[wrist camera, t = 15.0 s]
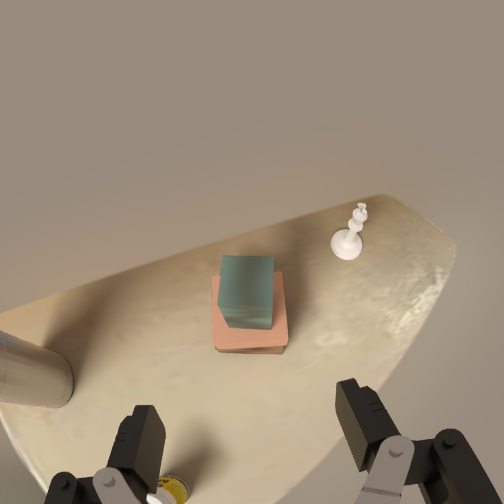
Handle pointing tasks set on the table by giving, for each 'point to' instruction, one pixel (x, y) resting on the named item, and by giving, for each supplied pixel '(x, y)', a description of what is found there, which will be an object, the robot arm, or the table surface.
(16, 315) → the table surface
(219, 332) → the terracotta top block
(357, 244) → the chess piece
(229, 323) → the green pillar block
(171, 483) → the supplement bottle
